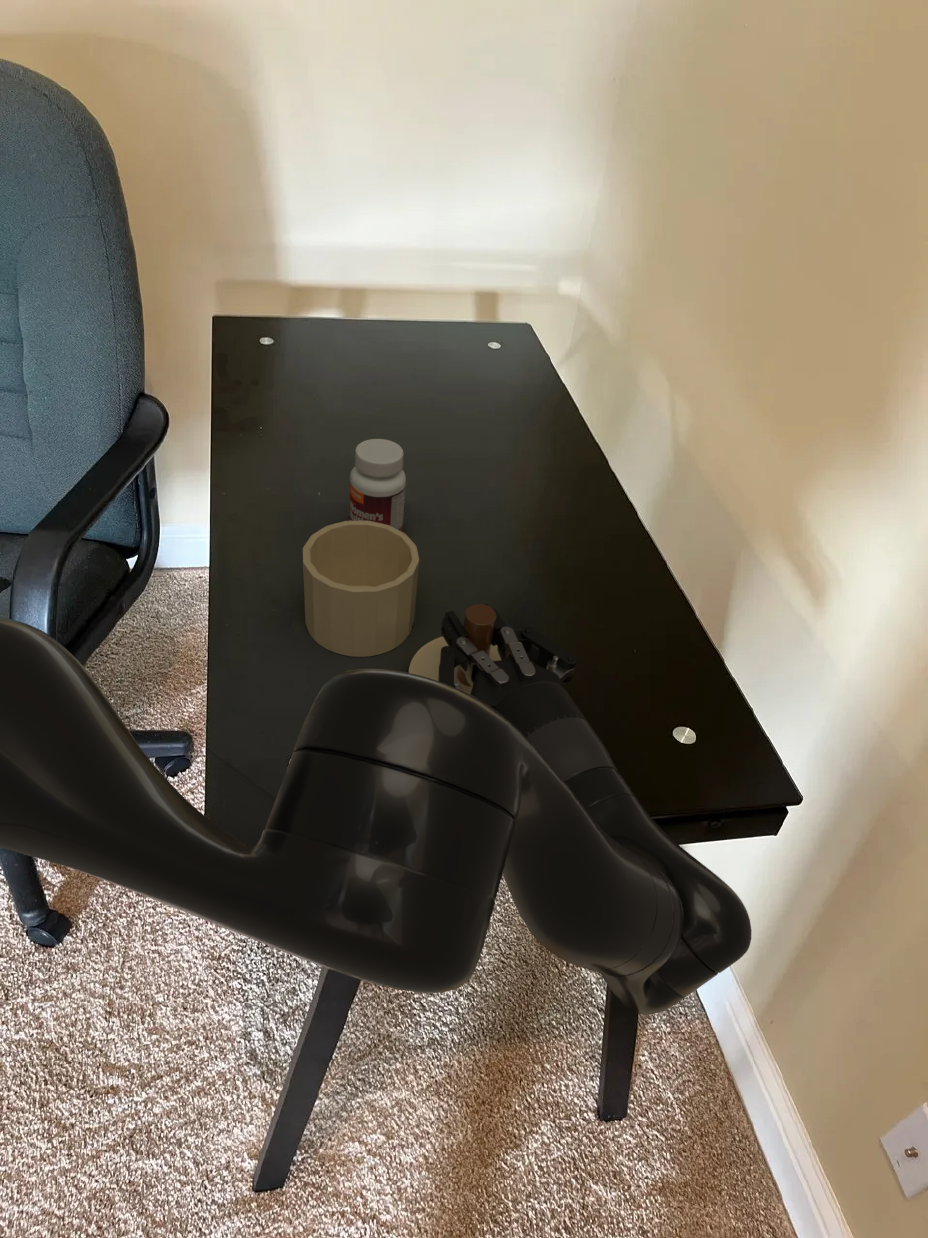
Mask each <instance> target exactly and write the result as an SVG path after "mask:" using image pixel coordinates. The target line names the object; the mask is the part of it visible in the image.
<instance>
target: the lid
mask: <svg viewBox="0 0 928 1238" xmlns="http://www.w3.org/2000/svg"><path fill="white" fill-rule="evenodd" d="M483 604H484V603H482V604H481V603H476V604H472V605H470V606H468V607H467V608H466V610H465V612H464V620H463V627H464V629H465V631H466V632H467V633H468V635H469V636H468V639H469V640H470V641H471V642H472V643H473V644H474V645H475V647H476V648H477V649H478V650H479V651H480V650H483V651H484V652H485V653H486V654H487V655H488V656H489V657H490V658H491V660H492V661H500V660H501V658H500V656H499V653H498V651H497V647H498V646H497V645H495V646H493V645H492V639H493V634H494V628H495V622H496V613H495V611H494V610H493V609H492V608H493V607H491V606H489V605H488V604H487V605H488V606H487V605H483ZM444 646H448V644H447V642H446V641H445V639H444V637H443V636H442V635H441V636H439V637H437V638H433V639H432V640H430V641H428V642H427V643H425V644H424V645H423V646H421V647H420V648H419V649H418V650H417V651H416V653H415V654H414V655H413V656H412V659H411V661H410V663H409V667H408V672H407V673H411V674H415V675H420V676H424V677H427V678H430V679H433V680H436V681H438V676H439V665H440V656H441V649H442V647H444ZM455 681H457V682H459V685H460V686H461V687H462V689H463V692H466V693H468V694H471V690H472V687H471V685H470V684H469V683H468V682H467V680H466V676H465V674H464V673H463V671H462V670H461V669H460V668H459V667H458V666H457V667H455V668H454V682H455Z"/></svg>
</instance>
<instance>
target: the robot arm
mask: <svg viewBox="0 0 928 1238" xmlns="http://www.w3.org/2000/svg"><path fill="white" fill-rule="evenodd" d="M482 604H483V605H487V606H489V604H488V603H482ZM491 608H492V609H493V610H494V611H495V613H496V622H495V628H494V634H493V639H492V645H493V646H495V645H497V646H498V647H497V651H498V653H499V656H500V658H501V660H500V661H492V660H491V658H490V657H489V656H488V655H487V654H486V653H485V652H484V651H483V650H480V651H479V650H478V649H477V648H476V647H475V645H474V644H473V643H472V642H471V641H470V640H469V639H468V636H469V635H468V633H467V632H466V631H465V629H464V627H463V626H464V624H462V622H461V621H460V619H459V617H458V616H457V614H456V613H455V611H454V610H450V611H446V612H445V613H444V618H442V620H441V629H440V632H441V637H442V636H443V637H444V639H445V641H446V642H447V644H448V646H444V647H442V649H441V656H440V665H439V676H438V681H436V680H433V679H430V678H427V677H424V676H420V675H415V674H411V673H408V672H406V671H401V670H400V671H399V670H393V669H385V668H357V669H356V668H355V669H350V670H346V671H342V672H339V673H338V674H337V675H335V676H333V677H331V678H329V679H328V680H327V681H326V682H325V683H324V684H323V685H322V686H321V688H320V690H319V691H318V693H317V695H316V697H315V699H314V700H313V702H312V704H311V706H310V708H309V710H308V712H307V715H306V716H305V719H304V721H303V723H302V725H301V728H300V731H299V733H298V736H297V738H296V741H295V744H294V746H293V752H292V755H291V757H290V760H289V761H288V765H287V768H286V770H285V773H284V776H283V778H282V781H281V784H280V786H279V789H278V792H277V795H276V798H275V800H274V803H273V806H272V809H271V810H270V814H269V816H268V819H267V822H266V825H265V829H263V831H262V833H261V836H260V838H259V840H258V843H256V844H255V845H253V846H248V845H247V844H245V843H243V842H242V841H239V840H238V839H237V838H235V837H234V836H233V835H231V834H229V833H228V832H227V831H225V830H224V829H222V828H221V827H220V826H218V825H217V824H215V823H213V822H212V820H210V819H209V818H208V817H207V816H205V815H204V814H203V813H202V812H201V811H199V809H197V808H196V807H195V806H193V804H192V803H190V802H189V801H188V800H187V799H186V798H185V797H184V796H183V794H181V792H179V791H178V790H177V788H176V787H174V786H173V784H172V783H171V782H170V781H169V780H168V779H167V778H166V776H164V774H163V773H162V772H161V771H160V769H158V768H157V767H156V765H155V764H154V763H153V762H152V761H151V760H150V758H149V757H148V755H147V754H146V753H145V752H144V750H143V749H142V748H141V746H140V745H139V743H138V742H137V740H136V739H135V737H134V736H133V734H132V733H131V732H130V730H129V728H128V727H127V726H126V724H125V723H124V721H123V719H122V718H121V716H120V714H118V712H117V710H116V709H115V707H114V706H113V705H112V703H111V701H110V700H109V698H108V697H107V696H106V694H105V693H104V692H103V691H102V689H101V687H100V686H99V685H98V683H97V682H96V681H95V679H94V678H93V677H92V675H91V674H90V673H89V671H88V670H87V668H85V666H84V665H83V664H82V663H81V661H79V660H78V658H77V657H75V656H74V655H73V654H72V653H71V652H70V651H69V650H68V649H67V648H66V647H65V646H64V645H62V643H60V642H59V641H58V640H56V639H55V638H54V637H53V636H51V635H49V634H48V633H47V632H45V631H43V630H41V629H39V628H37V627H35V626H33V625H31V624H28V623H26V622H22V621H19V620H17V619H16V620H15V619H12V618H8V617H5V616H1V615H0V848H1V849H5V850H8V851H12V852H15V853H18V854H23V855H25V856H29V857H33V858H36V859H40V860H43V861H47V862H48V863H49V862H50V863H53V864H57V865H59V866H63V867H65V868H69V869H71V870H74V871H78V872H80V873H83V874H86V875H88V876H92V877H94V878H97V879H100V880H103V881H105V882H108V883H111V884H113V885H115V886H118V887H121V888H124V889H126V890H128V891H131V892H133V893H136V894H137V895H141V896H143V897H146V898H149V899H151V900H153V901H156V902H158V903H160V904H164V905H166V906H168V907H170V908H173V909H176V910H179V911H181V912H184V913H185V914H188V915H191V916H193V917H196V918H198V919H201V920H203V921H206V922H209V923H211V924H214V925H216V926H218V927H221V928H224V929H226V930H228V931H231V932H233V933H236V934H238V935H241V936H242V937H243V936H244V937H246V938H248V939H250V940H252V941H256V942H258V943H261V944H263V945H265V946H268V947H270V948H273V949H276V950H278V951H281V952H283V953H285V954H287V955H290V956H293V957H296V958H298V959H301V960H303V961H306V962H309V963H312V964H313V965H317V966H320V967H322V968H325V969H327V970H330V971H333V972H335V973H338V974H341V975H344V976H346V977H349V978H354V979H357V980H360V981H363V982H367V983H370V984H373V985H377V986H382V987H385V988H386V987H387V988H391V989H395V990H400V991H405V992H413V993H423V994H440V993H445V992H446V993H447V992H451V991H453V990H457V989H458V988H461V987H462V986H464V985H465V984H466V983H467V982H468V981H469V980H470V979H471V978H472V976H473V975H474V973H475V971H476V969H477V966H478V964H479V961H480V958H481V954H482V953H483V949H484V945H485V942H486V938H487V935H488V930H489V926H490V922H491V919H492V916H493V915H492V914H493V912H494V908H495V904H496V901H495V900H496V899H497V896H498V893H499V889H500V885H501V880H502V877H503V880H504V881H505V884H506V886H507V889H508V891H509V893H510V896H511V899H512V902H513V904H514V906H515V908H516V910H517V912H518V915H519V916H520V918H521V919H522V921H523V922H524V924H525V926H526V928H527V929H528V931H529V932H530V933H531V934H532V936H533V937H534V938H535V939H536V941H538V942H539V944H540V945H541V946H542V947H544V948H545V949H546V950H547V951H548V952H550V953H551V954H552V955H554V956H555V957H557V958H558V959H560V960H562V961H564V962H567V963H568V964H571V965H573V966H576V967H578V968H582V969H586V970H588V971H593V972H594V973H595V972H596V973H599V974H600V976H601V977H602V978H603V980H604V982H605V983H606V985H607V987H608V988H609V989H610V991H611V992H612V993H613V994H614V996H615V997H616V998H617V999H618V1000H619V1002H620V1003H621V1004H622V1005H624V1006H625V1007H626V1009H629V1010H630V1011H632V1012H633V1013H636V1014H638V1015H643V1016H647V1015H649V1016H650V1015H656V1014H659V1013H663V1012H666V1011H667V1010H669V1009H671V1008H672V1007H674V1006H676V1005H677V1004H679V1002H682V1001H683V1000H684V999H685V998H686V997H689V995H692V994H693V993H694V992H695V991H697V990H698V989H699V988H701V987H702V986H704V985H705V984H707V983H708V982H710V981H711V980H712V979H713V978H715V977H716V976H717V975H719V974H721V973H722V972H724V971H725V970H726V969H728V968H730V967H731V966H733V965H734V964H735V963H736V962H738V961H739V960H740V959H741V958H742V957H743V956H745V954H746V953H747V952H748V950H749V948H750V946H751V942H752V924H751V919H750V916H749V913H748V910H747V908H746V905H745V904H744V902H743V901H742V899H741V898H740V896H739V895H738V894H737V892H735V890H733V888H732V887H731V886H730V885H729V884H728V883H726V882H725V880H723V878H721V877H720V876H718V874H716V873H714V871H713V870H711V869H710V868H708V867H707V866H706V865H704V864H703V863H702V862H701V861H699V860H698V859H697V858H696V857H695V856H693V855H692V854H691V853H690V852H688V851H687V850H685V849H684V847H682V846H681V845H680V844H679V843H677V842H676V841H675V840H674V838H672V837H671V836H670V835H669V834H668V833H667V832H666V831H664V829H662V827H660V825H659V824H658V823H657V822H656V821H655V820H654V819H653V818H652V817H651V815H650V814H649V813H648V811H647V810H646V809H645V808H644V805H642V803H641V802H640V800H639V799H638V798H637V796H636V794H634V792H633V791H632V789H631V787H630V786H629V785H628V784H627V782H626V780H625V779H624V778H623V775H622V774H621V773H620V772H619V769H618V768H617V767H616V765H615V763H614V761H613V759H612V757H611V754H610V753H609V751H608V749H607V748H606V746H605V745H604V743H603V742H602V740H601V738H600V737H599V735H598V734H597V733H596V731H595V730H594V729H593V726H592V725H590V723H589V721H588V720H587V718H586V717H585V716H584V714H583V713H582V711H581V710H580V709H579V707H578V706H577V704H576V703H575V702H574V700H573V698H572V697H571V696H570V694H569V692H568V691H567V689H565V688H564V687H563V686H562V683H565V684H566V683H567V684H568V683H570V682H572V681H573V677H574V673H575V669H576V666H577V662H578V658H577V656H575V655H574V654H572V653H571V652H569V651H568V650H567V649H565V648H564V647H562V646H560V645H559V644H557V643H556V642H554V641H552V640H551V639H549V638H548V637H546V636H544V635H543V634H542V633H539V631H537V630H535V629H533V628H532V627H530V626H523V628H521V630H514V629H513V628H512V627H510V626H508V625H507V624H506V622H505V621H504V619H503V617H502V616H501V614H500V613H499V612H498V610H496V609H495V608H494V607H491ZM535 647H536V648H535ZM457 666H458V667H459V668H460V669H461V670H462V671H463V673H464V674H465V676H466V680H467V682H468V683H469V684H470V685H471V687H472V690H471V694H468V693H466V692H463V689H462V687H461V686H460V685H459V682H457V681H455V682H454V668H455V667H457Z"/></svg>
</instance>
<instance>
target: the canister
mask: <svg viewBox="0 0 928 1238" xmlns="http://www.w3.org/2000/svg"><path fill="white" fill-rule="evenodd" d="M302 568H303V571H302V572H303V592H304V593H303V594H304V595H303V597H304V598H303V599H304V618H305V619H304V621H305V626H306V630H307V632H308V633H309V636H310V637H311V638H312V639H313V641H314V642H315V643H317V644H318V645H319V646H321V647H322V648H324V649H326V650H328V651H329V652H332V653H335V654H338V655H341V656H345V657H354V658H365V657H366V658H367V657H372V656H379V655H382V654H385V653H388V652H391V651H393V650H394V649H396V648H398V647H399V646H400V645H401V644H403V643H404V642H405V641H406V640H407V639H408V637H409V636H410V634H411V632H412V630H413V626H414V622H415V619H416V617H415V616H416V604H417V593H418V581H419V568H420V556H419V551H418V547H417V545H416V544H415V542H414V541H412V540H411V538H410V536H408V534H406V533H405V532H403V531H402V532H401V531H399V530H397V529H395V528H393V527H392V526H390V525H386V524H382V523H377V522H373V521H368V520H364V521H349V520H344V521H340V522H336V523H331V524H329V525H326V526H324V527H322V528H320V529H319V530H317V531H316V532H314V533H312V534H311V535H310V537H309V538H308V539H307V541H306V542H305V544H304V546H303V547H302Z"/></svg>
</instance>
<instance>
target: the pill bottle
mask: <svg viewBox="0 0 928 1238" xmlns="http://www.w3.org/2000/svg"><path fill="white" fill-rule="evenodd" d="M354 454H355V455H354V467H352V469H351V471H350V474H349V505H348V506H349V507H348V509H349V510H348V511H349V512H348V514H349V515H348V521H364V520H368V521H373V522H377V523H382V524H386V525H390V526H392V527H393V528H395V529H397V530H399V531H401V532H403V529H404V516H405V515H404V514H405V501H406V487H407V486H406V485H407V477H406V473H405V471H404V470H403V469H404V450H403V448H402V446H400V444H398V443H397V442H395V441H392V440H389V439H384V438H371V439H366V440H363V441H361V442H360V443H359V444H358V445H356V447H355V452H354Z"/></svg>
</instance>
